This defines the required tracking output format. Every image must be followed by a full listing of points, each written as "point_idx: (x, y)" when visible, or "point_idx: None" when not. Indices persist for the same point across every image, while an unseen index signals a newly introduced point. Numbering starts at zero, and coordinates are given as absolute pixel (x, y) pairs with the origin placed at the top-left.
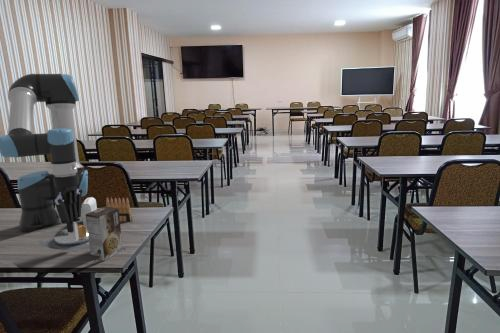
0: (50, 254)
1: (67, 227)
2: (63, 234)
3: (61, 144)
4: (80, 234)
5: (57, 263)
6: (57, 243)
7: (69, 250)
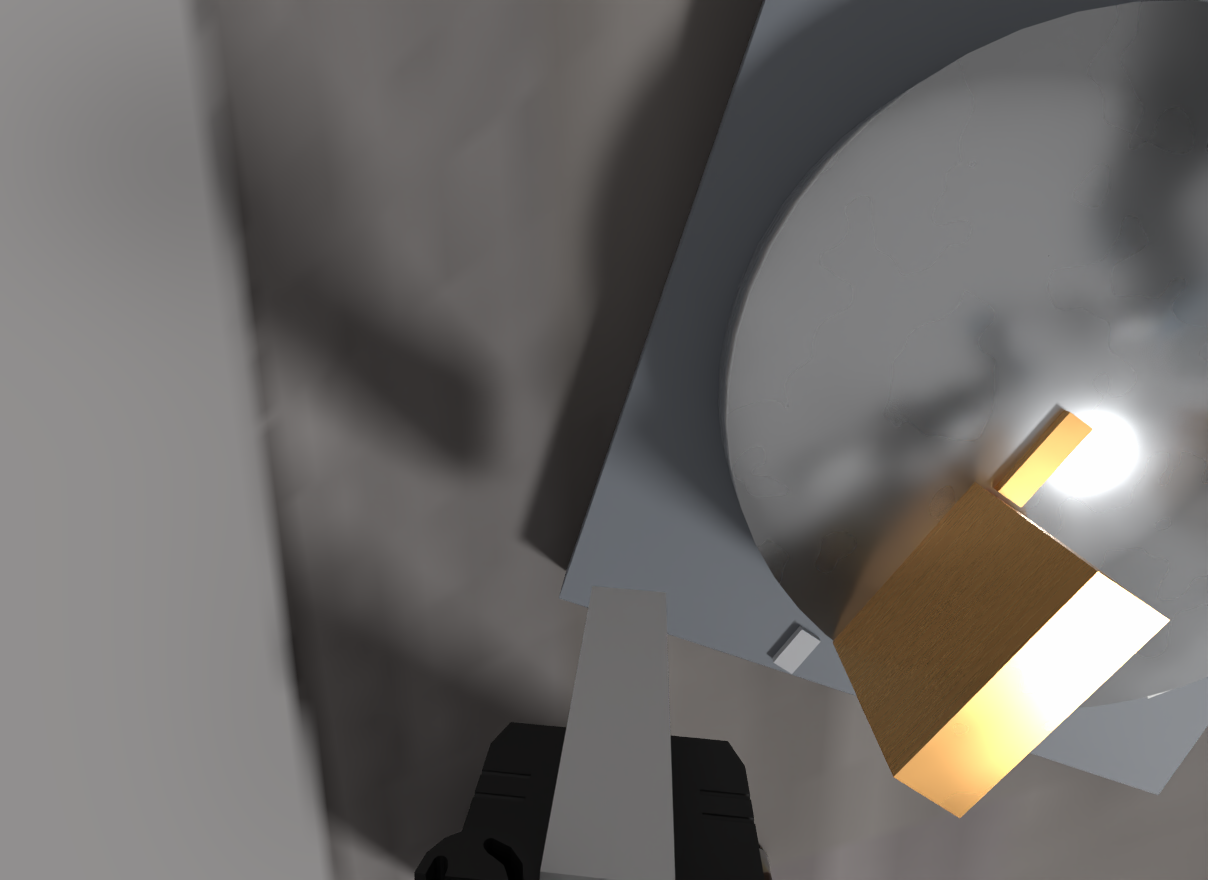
0: (585, 219)
1: (469, 825)
2: (1038, 206)
3: None
4: (893, 610)
5: (357, 470)
6: (772, 226)
7: (588, 510)
